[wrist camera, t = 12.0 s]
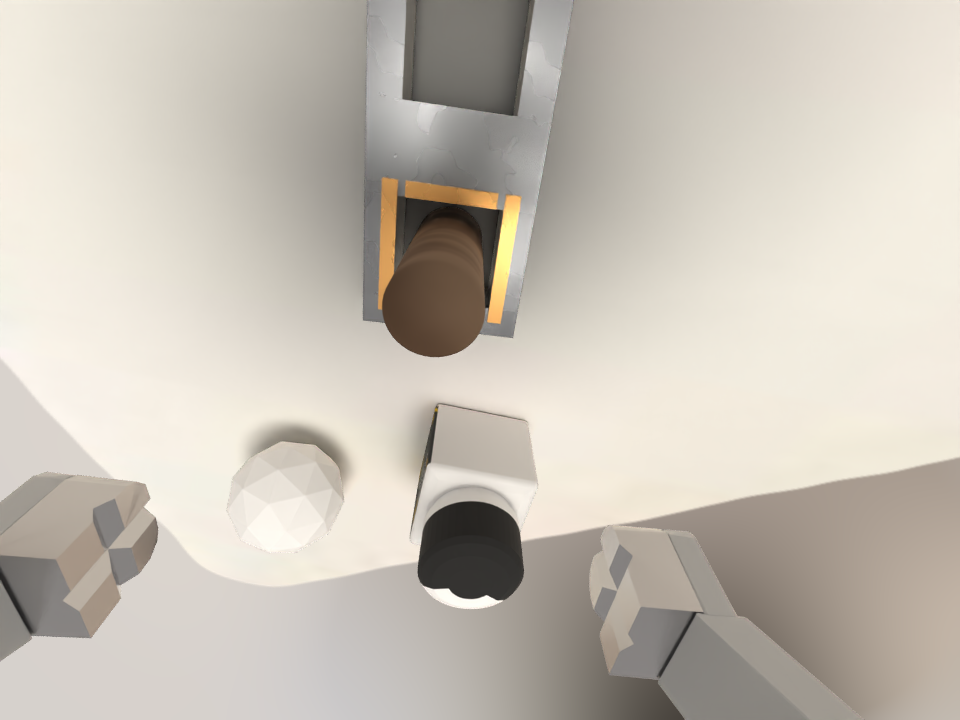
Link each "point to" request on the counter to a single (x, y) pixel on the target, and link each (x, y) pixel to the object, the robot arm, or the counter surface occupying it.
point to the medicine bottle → (473, 506)
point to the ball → (285, 497)
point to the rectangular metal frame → (456, 152)
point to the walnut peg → (438, 286)
